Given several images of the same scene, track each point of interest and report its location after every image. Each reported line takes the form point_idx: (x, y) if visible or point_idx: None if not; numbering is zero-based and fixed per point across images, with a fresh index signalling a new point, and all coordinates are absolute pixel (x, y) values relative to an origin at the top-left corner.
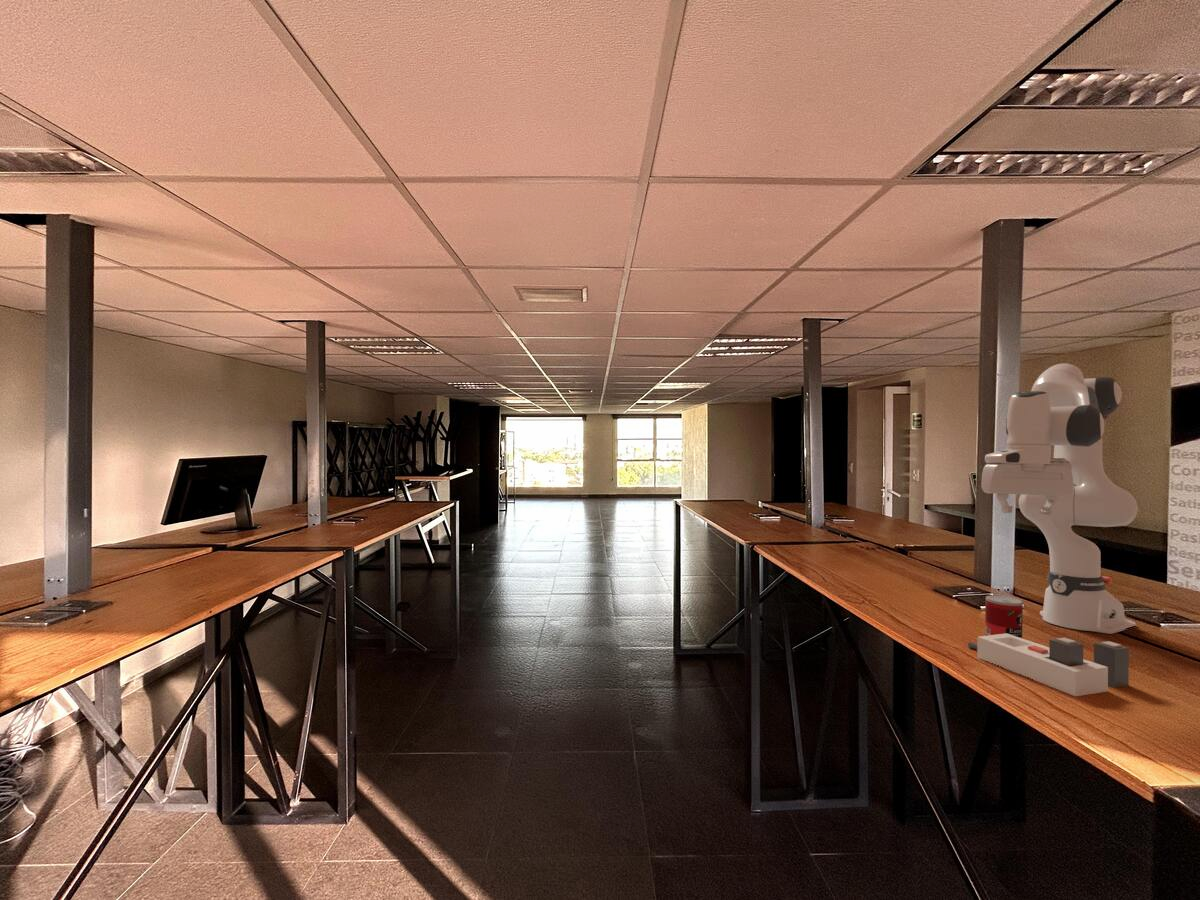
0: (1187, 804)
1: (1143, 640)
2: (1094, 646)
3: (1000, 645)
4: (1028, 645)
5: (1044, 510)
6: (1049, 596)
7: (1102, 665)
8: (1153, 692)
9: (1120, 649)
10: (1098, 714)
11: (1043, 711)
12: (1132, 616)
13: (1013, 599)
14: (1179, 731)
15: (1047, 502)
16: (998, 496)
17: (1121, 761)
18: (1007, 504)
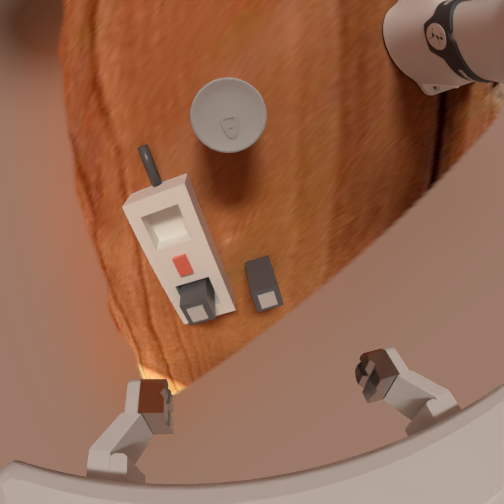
0: None
1: (442, 125)
2: (250, 290)
3: (140, 243)
4: (183, 243)
5: (367, 378)
6: (418, 15)
7: (233, 306)
8: (283, 289)
9: (268, 308)
10: (181, 334)
11: (134, 331)
12: None
13: (257, 109)
14: (227, 352)
15: (418, 393)
16: (95, 465)
17: None
18: (142, 441)
